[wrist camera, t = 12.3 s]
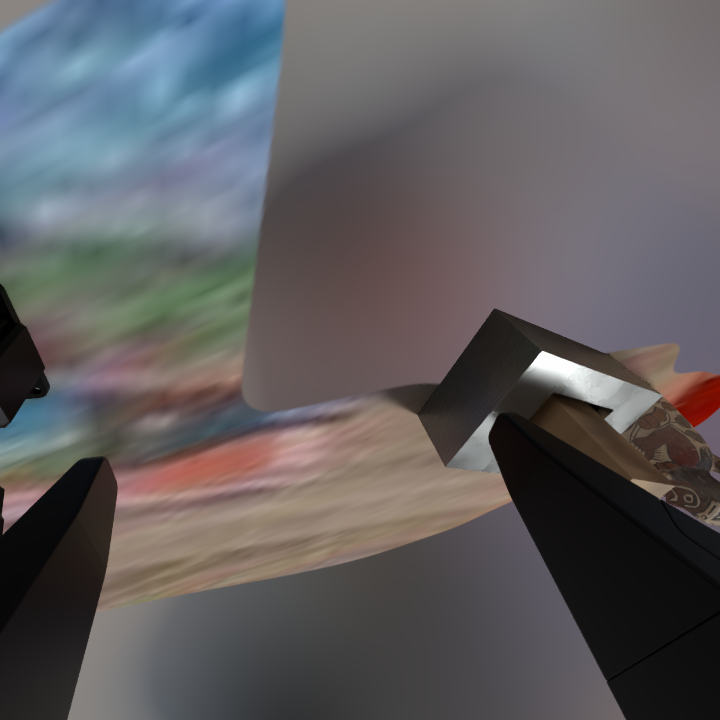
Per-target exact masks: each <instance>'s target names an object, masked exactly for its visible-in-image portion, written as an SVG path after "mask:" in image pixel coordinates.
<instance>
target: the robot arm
mask: <svg viewBox="0 0 720 720" xmlns="http://www.w3.org/2000/svg"><path fill="white" fill-rule="evenodd" d="M44 369H45V366H44V364H43V362H42V360H41V358H40V355H39V353H38V351H37V349H36V347H35V344H34V342H33V340H32V338H31V336H30V334H29V331H28V329H27V327H26V326H24V325H23V324H22V323H20V320H19V318H18V316H17V314H16V312H15V310H14V308H13V305H12V303H11V301H10V299H9V297H8V295H7V293H6V290H5V289H4V287H3V286H2V285H1V284H0V428H5V427H7V426H8V425H9V424H10V423H11V421H12V420H13V418H14V417H15V415H16V413H17V412H18V410H19V409H20V407H21V406H22V404H23V402H24V401H25V399H32V398H41V397H44V396H46V394H47V393H48V391H49V389H50V385H49V382H48V380H47V378H46V376H45V374H44V372H43V371H44ZM34 387H37V388H40V389H35V388H34ZM488 440H489V444H490V447H491V449H492V452H493V454H494V457H495V459H496V462H497V464H498V467H499V469H500V472H501V474H502V477H503V479H504V482H505V484H506V487H507V489H508V491H509V494H510V496H511V498H512V500H513V502H514V504H515V506H516V508H517V510H518V512H519V514H520V516H521V518H522V519H523V521H524V523H525V525H526V527H527V529H528V531H529V533H530V535H531V537H532V539H533V541H534V543H535V545H536V546H537V548H538V550H539V552H540V554H541V556H542V558H543V560H544V562H545V564H546V566H547V568H548V570H549V571H550V573H551V575H552V577H553V579H554V581H555V583H556V585H557V587H558V589H559V591H560V592H561V595H562V597H563V599H564V600H565V602H566V604H567V606H568V608H569V610H570V612H571V614H572V616H573V618H574V620H575V622H576V623H577V626H578V627H579V629H580V631H581V633H582V635H583V637H584V639H585V641H586V643H587V645H588V647H589V649H590V651H591V653H592V654H593V656H594V658H595V660H596V662H597V664H598V666H599V668H600V670H601V672H602V674H603V676H604V677H605V679H606V680H607V684H608V686H609V688H610V690H611V692H612V693H613V695H614V697H615V699H616V701H617V703H618V705H619V707H620V709H621V710H622V713H623V715H624V717H625V719H626V720H720V533H718V532H716V531H714V530H713V529H711V528H709V527H707V526H705V525H704V524H702V523H700V522H699V521H697V520H695V519H693V518H692V517H690V516H688V515H686V514H685V513H683V512H681V511H680V510H678V509H676V508H675V507H673V506H671V505H670V504H668V503H666V502H665V501H663V500H659V498H658V497H656V496H655V495H653V494H651V493H650V492H648V491H646V490H645V489H643V488H641V487H640V486H638V485H636V484H635V483H633V482H631V481H630V480H628V479H626V478H625V477H623V476H621V475H620V474H618V473H616V472H615V471H613V470H611V469H609V468H608V467H606V466H604V465H603V464H601V463H599V462H598V461H596V460H594V459H593V458H591V457H589V456H588V455H586V454H584V453H583V452H581V451H579V450H578V449H576V448H574V447H573V446H571V445H569V444H568V443H566V442H564V441H563V440H561V439H559V438H558V437H556V436H554V435H553V434H551V433H549V432H548V431H546V430H544V429H543V428H541V427H539V426H538V425H536V424H534V423H533V422H531V421H529V420H528V419H526V418H524V417H523V416H521V415H519V414H518V413H516V412H504V413H500V414H498V415H497V417H496V419H495V421H494V423H493V426H492V428H491V430H490V432H489V435H488ZM117 489H118V488H117V481H116V479H115V476H114V474H113V471H112V469H111V466H110V464H109V461H108V459H107V458H106V457H104V456H99V457H90V458H83V459H81V460H79V461H77V462H76V463H75V464H74V465H73V466H72V467H71V468H70V469H69V470H68V471H67V472H66V473H65V474H64V475H63V476H62V477H61V478H60V479H59V480H58V481H57V482H56V483H55V484H54V485H53V486H52V487H51V488H50V489H49V490H48V491H47V492H46V493H45V494H44V495H43V496H42V497H41V498H40V499H39V500H38V501H37V502H36V503H35V504H34V505H33V506H32V507H31V508H30V509H29V510H28V511H27V512H26V513H25V514H23V515H22V516H21V517H20V518H19V519H18V520H17V521H16V522H15V523H14V524H13V525H12V526H11V527H10V528H9V529H8V530H7V531H6V532H5V533H4V534H3V525H4V519H3V517H2V508H3V499H4V488H2V487H1V486H0V720H67V719H68V715H69V711H70V707H71V703H72V699H73V696H74V692H75V687H76V684H77V681H78V677H79V673H80V669H81V665H82V661H83V658H84V654H85V650H86V646H87V642H88V639H89V635H90V631H91V627H92V623H93V620H94V616H95V612H96V608H97V605H98V601H99V597H100V593H101V589H102V586H103V582H104V577H105V573H106V569H107V563H108V556H109V549H110V542H111V535H112V528H113V521H114V513H115V506H116V499H117ZM2 534H3V535H2Z"/></svg>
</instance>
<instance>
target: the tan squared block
mask: <svg viewBox="0 0 720 720" xmlns="http://www.w3.org/2000/svg"><path fill="white" fill-rule="evenodd" d="M529 421H531V422H533V423H534V424H536V425H538V426H539V427H541V428H543V429H544V430H546V431H548V432H549V433H551V434H553V435H554V436H556V437H558V438H559V439H561V440H563V441H564V442H566V443H568V444H569V445H571V446H573V447H574V448H576V449H578V450H579V451H581V452H583V453H584V454H586V455H588V456H589V457H591V458H593V459H594V460H596V461H598V462H599V463H601V464H603V465H604V466H606V467H608V468H609V469H611V470H613V471H615V472H616V473H618V474H620V475H621V476H623V477H625V478H626V479H628V480H630V481H631V482H633V483H635V484H636V485H638V486H640V487H641V488H643V489H645V490H646V491H648V492H650V493H651V494H653V495H655V496H656V497H658V498H660V497H662V496H663V495H664V494H666V493H667V492H668V491H670V490H671V489H672V488H674V487H675V485H674V484H673V483H672V482H671V481H670V480H669V479H668V478H667V477H665V476H664V475H663V474H662V473H661V472H660V471H659V470H658V469H657V468H656V467H655V466H654V465H653V464H652V463H651V462H649V461H648V460H647V459H646V458H645V457H644V456H643V455H642V454H641V453H640V452H639V451H638V450H637V449H636V448H634V447H633V446H632V445H631V444H630V443H629V442H628V441H627V440H626V439H625V438H624V437H623V436H622V435H621V434H619V433H618V432H617V431H616V430H615V429H614V428H613V427H612V426H611V425H610V424H609V423H608V422H607V421H606V420H604V419H603V418H602V417H601V416H600V415H599V414H598V413H597V412H596V411H595V410H594V409H593V408H592V407H591V406H590V405H588V404H587V403H586V402H585V401H582V400H579V399H575V398H572V397H569V396H565V395H562V394H558V393H555V392H554V393H553V394H552V395H551V396H550V397H549V398H548V399H547V400H546V401H545V402H544V404H543V405H542V406H541V407H540V408H539V409H538V410H537V411H536V412H535V413H534V415H533V416H532V417H531V418H530V419H529Z"/></svg>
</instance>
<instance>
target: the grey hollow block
mask: <svg viewBox="0 0 720 720" xmlns="http://www.w3.org/2000/svg"><path fill="white" fill-rule="evenodd" d="M554 392H555V393H558V394H562V395H565V396H569V397H572V398H575V399H579V400H582V401H585V402H586V403H587V404H588V405H590V406H591V407H592V408H593V409H594V410H595V411H596V412H597V413H598V414H599V415H600V416H601V417H602V418H603V419H604V420H606V421H607V422H608V423H609V424H610V425H611V426H612V427H613V428H614V429H615V430H616V431H617V432H618V433H619V434H622V433H623V432H624V431H625V430H626V429H627V428H628V427H629V426H630V425H631V424H632V423H634V422H635V421H636V420H637V419H638V418H639V417H640V416H641V415H642V414H643V413H644V412H646V411H647V410H648V409H649V408H650V407H651V406H652V405H653V404H654V403H655V402H656V401H658V400H659V399H660V398H661V397H662V396H663V395H662V394H661V393H659V392H658V391H657V390H655V389H654V388H653V387H651V386H650V385H649V384H647V383H646V382H645V381H643V380H642V379H641V378H639V377H638V376H637V375H635V374H634V373H633V372H631V371H630V370H629V369H627V368H626V367H625V366H623V365H622V364H621V363H619V362H618V361H617V360H615V359H614V358H613V357H611V356H610V355H607V354H605V353H602V352H600V351H597V350H595V349H592V348H590V347H588V346H585V345H583V344H580V343H578V342H575V341H573V340H571V339H568V338H566V337H563V336H561V335H558V334H556V333H553V332H551V331H549V330H546V329H544V328H541V327H539V326H536V325H534V324H531V323H529V322H526V321H524V320H521V319H519V318H517V317H514V316H512V315H510V314H507V313H505V312H502V311H500V310H497V309H494V310H493V311H492V312H491V314H490V315H489V317H488V318H487V319H486V321H485V322H484V324H483V325H482V326H481V328H480V329H479V331H478V332H477V333H476V335H475V336H474V338H473V339H472V340H471V342H470V343H469V345H468V346H467V347H466V349H465V350H464V352H463V353H462V354H461V356H460V357H459V358H458V360H457V361H456V363H455V364H454V365H453V367H452V368H451V370H450V371H449V372H448V374H447V375H446V377H445V378H444V379H443V381H442V382H441V384H440V385H439V386H438V388H437V389H436V391H435V392H434V393H433V395H432V396H431V398H430V399H429V400H428V402H427V403H426V405H425V406H424V407H423V409H422V410H421V412H420V413H419V414H418V417H419V419H420V421H421V423H422V425H423V426H424V428H425V430H426V432H427V434H428V436H429V438H430V439H431V441H432V443H433V445H434V447H435V449H436V451H437V452H438V454H439V456H440V458H441V460H442V462H443V464H444V465H445V467H449V468H458V469H466V470H475V471H483V472H492V473H500V474H501V472H500V469H499V467H498V464H497V462H496V459H495V457H494V454H493V452H492V449H491V447H490V444H489V440H488V435H489V432H490V430H491V428H492V426H493V423H494V421H495V419H496V417H497V415H498V414H500V413H504V412H516V413H518V414H519V415H521V416H523V417H524V418H526V419H528V420H529V419H530V418H531V417H532V416H533V415H534V413H535V412H536V411H537V410H538V409H539V408H540V407H541V406H542V405H543V404H544V402H545V401H546V400H547V399H548V398H549V397H550V396H551V395H552V394H553V393H554Z"/></svg>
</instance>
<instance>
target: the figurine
mask: <svg viewBox="0 0 720 720" xmlns="http://www.w3.org/2000/svg"><path fill="white" fill-rule="evenodd" d="M621 435H622V436H623V437H624V438H625V439H626V440H627V441H628V442H629V443H630V444H631V445H632V446H633V447H634V448H636V449H637V450H638V451H639V452H640V453H641V454H642V455H643V456H644V457H645V458H646V459H647V460H648V461H649V462H651V463H652V464H653V465H654V466H655V467H656V468H657V469H658V470H659V471H660V472H661V473H662V474H663V475H664V476H665V477H667V478H668V479H669V480H670V481H671V482H672V483H673V484H674V485H675V487H674V488H672V489H671V490H670V491H668V492H667V493H666V494H664V495H663V496H665V497H666V502H667V503H669V504H671V505H674V506H676V507H680V508H683V509H685V510H686V511H688V512H690V513H691V514H692V515H693V516H695V517H696V518H698V519H700V520H701V521H703V522H705V523H708V524H711V525H714V526H720V482H719V481H717V480H716V479H714V478H713V477H712V476H711V475H710V471H715V472H718V473H720V458H719V457H717V456H715V455H714V454H712V452H711V450H710V449H709V447H708V445H707V444H706V442H705V441H704V439H703V438H702V437H701V436H700V435H699V433H698V432H697V431H696V430H695V429H694V428H693V426H692V425H691V424H690V423H689V422H688V421H687V420H686V419H685V418H684V417H683V416H682V415H681V414H680V413H679V412H678V411H677V410H676V409H675V408H674V406H672V405H671V404H670V403H669V402H668V401H667V400H666V399H665V398H664V397H661V398H660V399H659V400H658V401H656V402H655V403H654V404H653V405H652V406H651V407H650V408H649V409H648V410H647V411H646V412H644V413H643V414H642V415H641V416H640V417H639V418H638V419H637V420H636V421H635V422H634V423H632V424H631V425H630V426H629V427H628V428H627V429H626V430H625V431H624V432H623V433H622V434H621Z"/></svg>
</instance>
